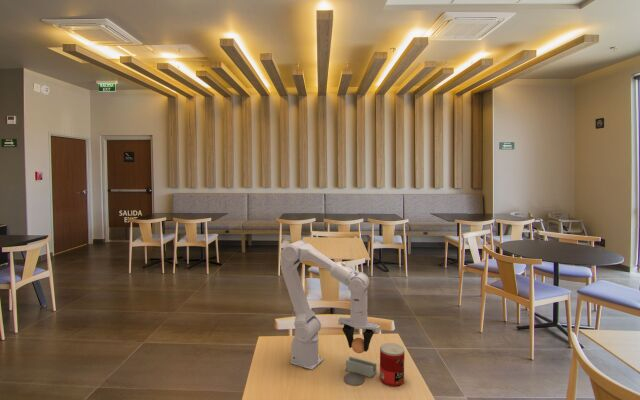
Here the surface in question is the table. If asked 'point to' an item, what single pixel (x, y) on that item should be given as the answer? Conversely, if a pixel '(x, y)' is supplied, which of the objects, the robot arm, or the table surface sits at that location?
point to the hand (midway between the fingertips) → (358, 348)
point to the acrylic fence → (361, 366)
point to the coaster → (354, 379)
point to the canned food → (392, 364)
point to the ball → (358, 345)
